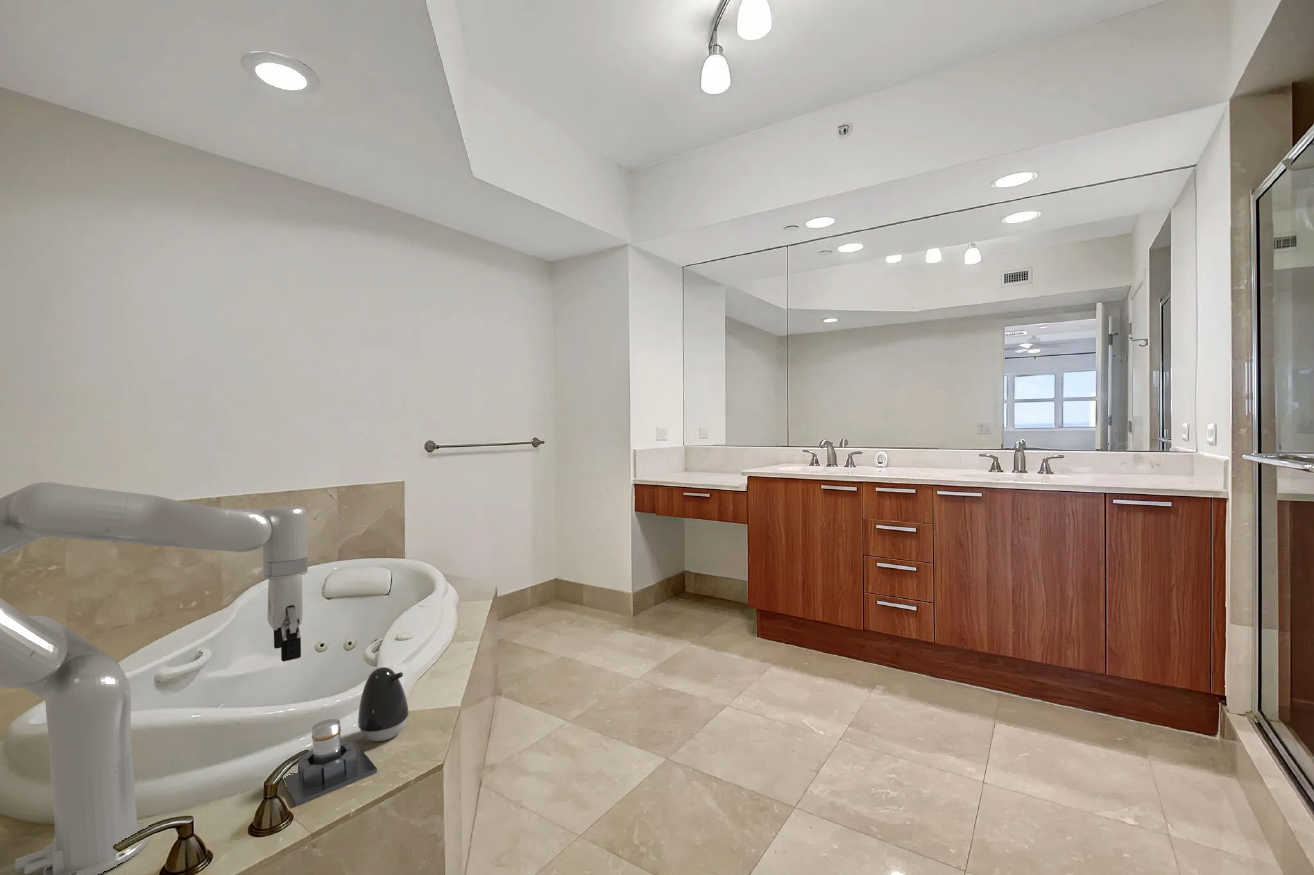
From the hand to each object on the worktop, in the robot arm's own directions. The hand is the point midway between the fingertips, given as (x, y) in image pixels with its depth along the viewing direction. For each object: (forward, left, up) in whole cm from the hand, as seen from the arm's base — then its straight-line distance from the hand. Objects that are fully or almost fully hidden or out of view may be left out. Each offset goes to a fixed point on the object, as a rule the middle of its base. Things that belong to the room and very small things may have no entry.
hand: (287, 652), depth 115 cm
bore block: (+5, -6, -24) cm, 26 cm away
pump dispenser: (+18, +1, -25) cm, 30 cm away
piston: (+5, -6, -24) cm, 25 cm away
